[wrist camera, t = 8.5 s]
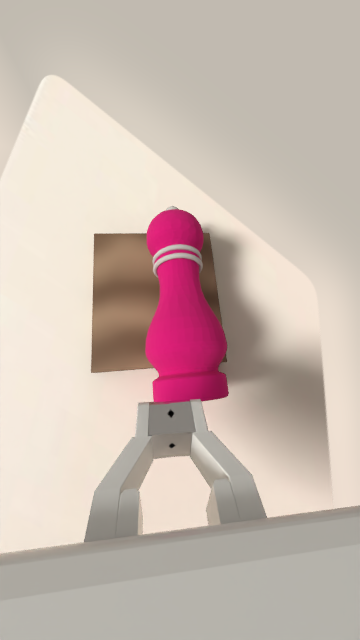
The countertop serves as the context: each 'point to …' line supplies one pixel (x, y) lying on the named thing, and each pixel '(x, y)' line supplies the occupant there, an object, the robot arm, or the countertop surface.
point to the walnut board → (132, 299)
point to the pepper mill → (182, 315)
